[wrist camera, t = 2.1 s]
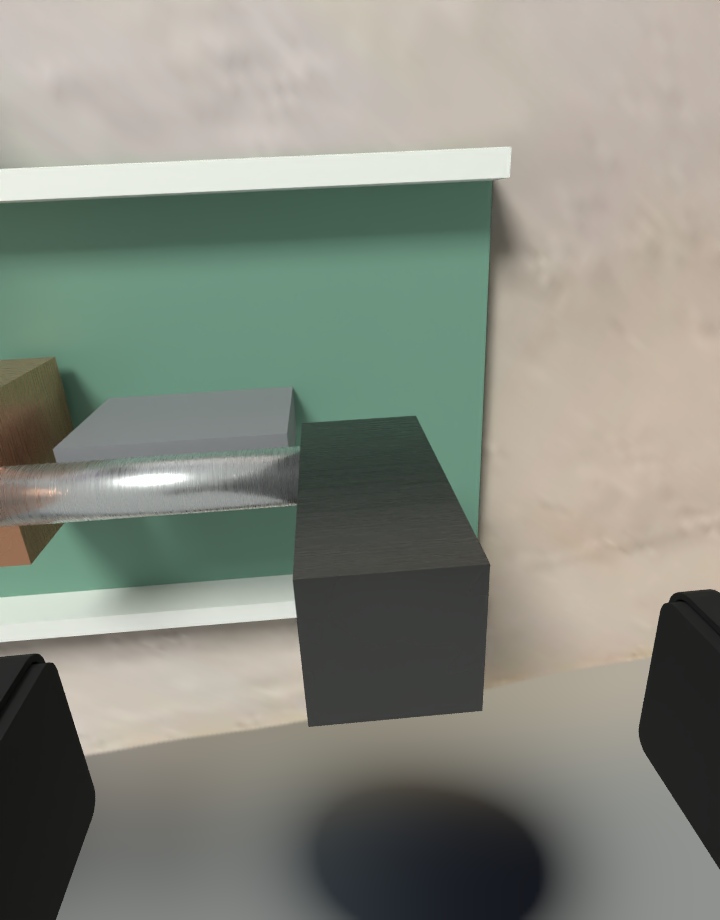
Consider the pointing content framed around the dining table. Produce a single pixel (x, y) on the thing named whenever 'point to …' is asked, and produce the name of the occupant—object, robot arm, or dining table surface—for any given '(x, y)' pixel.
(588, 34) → the dining table surface
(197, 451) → the pitch
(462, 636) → the copper block with rod
